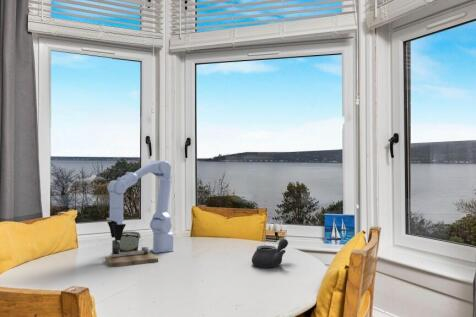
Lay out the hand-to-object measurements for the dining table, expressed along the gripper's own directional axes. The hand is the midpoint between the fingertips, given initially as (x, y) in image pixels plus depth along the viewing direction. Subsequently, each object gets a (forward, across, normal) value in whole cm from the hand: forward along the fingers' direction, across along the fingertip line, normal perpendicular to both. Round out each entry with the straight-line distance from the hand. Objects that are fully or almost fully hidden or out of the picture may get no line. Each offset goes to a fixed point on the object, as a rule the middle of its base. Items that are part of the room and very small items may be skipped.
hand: (116, 238), depth 169 cm
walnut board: (+9, +5, +6) cm, 12 cm away
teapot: (+10, +38, +58) cm, 70 cm away
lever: (+8, 0, +6) cm, 10 cm away
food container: (+10, -10, +8) cm, 16 cm away
